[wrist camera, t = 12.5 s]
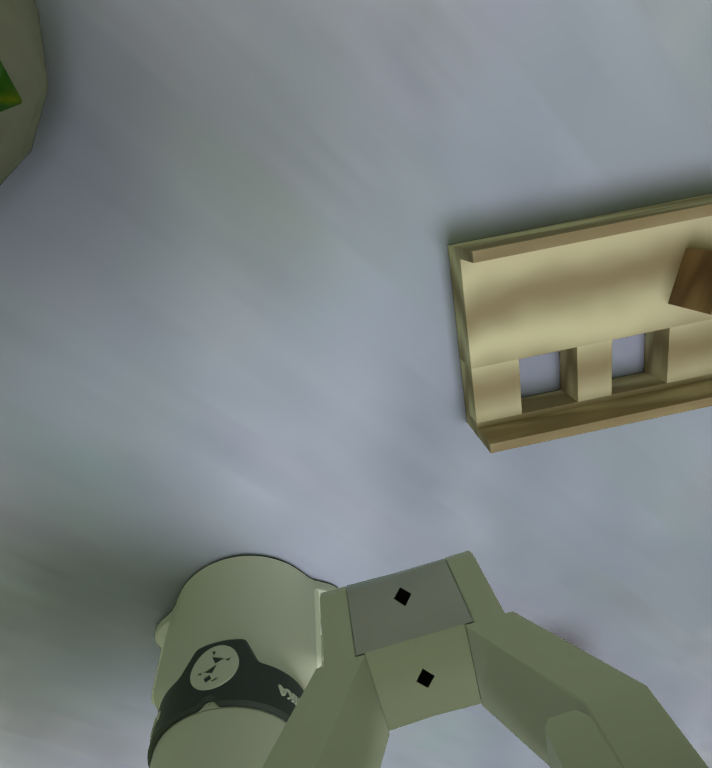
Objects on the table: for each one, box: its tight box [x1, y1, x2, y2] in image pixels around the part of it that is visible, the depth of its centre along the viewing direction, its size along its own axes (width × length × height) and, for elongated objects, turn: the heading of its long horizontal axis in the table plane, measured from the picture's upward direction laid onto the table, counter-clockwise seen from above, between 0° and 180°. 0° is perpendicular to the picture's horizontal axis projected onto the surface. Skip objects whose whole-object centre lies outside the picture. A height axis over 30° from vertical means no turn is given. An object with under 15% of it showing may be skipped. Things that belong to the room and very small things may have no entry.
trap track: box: [448, 193, 712, 453], centre depth 39 cm, size 16×23×7 cm
